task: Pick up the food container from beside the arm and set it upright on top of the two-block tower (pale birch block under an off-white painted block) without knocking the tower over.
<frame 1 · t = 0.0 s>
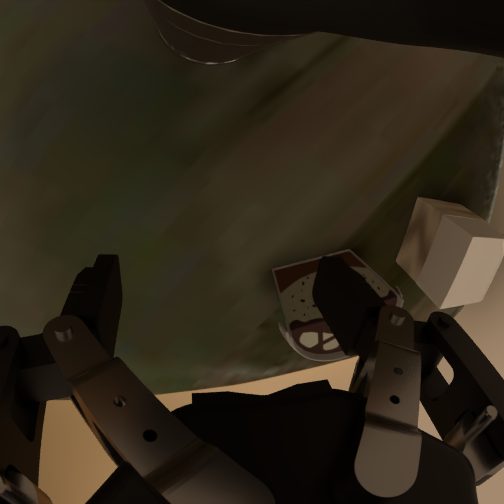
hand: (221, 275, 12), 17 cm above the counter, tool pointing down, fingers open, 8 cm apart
tower top block: (452, 250, 33), point 5 cm above the counter
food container: (312, 279, 36), on the counter
tower base block: (429, 231, 37), on the counter
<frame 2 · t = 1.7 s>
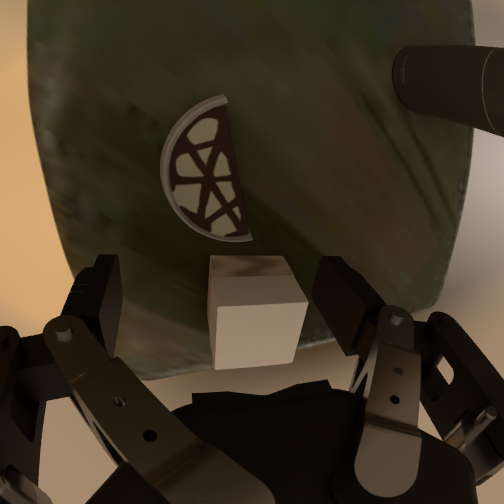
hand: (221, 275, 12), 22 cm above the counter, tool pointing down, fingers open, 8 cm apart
tower top block: (249, 309, 36), point 5 cm above the counter, touching tower base block
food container: (195, 156, 31), on the counter
tower base block: (243, 285, 40), on the counter, touching tower top block
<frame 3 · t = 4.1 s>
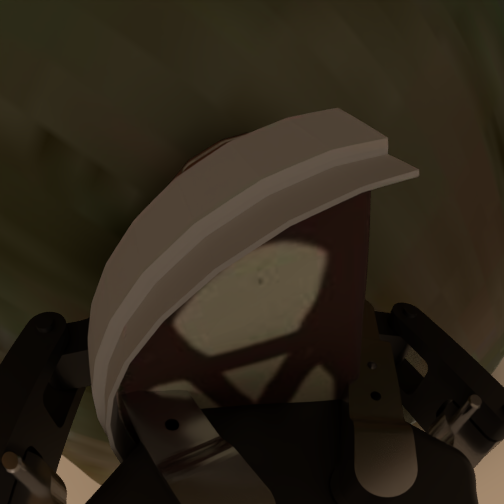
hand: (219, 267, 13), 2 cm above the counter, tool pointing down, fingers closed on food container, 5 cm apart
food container: (196, 246, 14), on the counter, touching gripper
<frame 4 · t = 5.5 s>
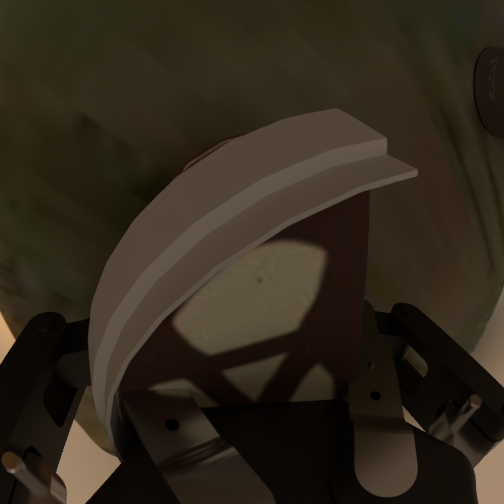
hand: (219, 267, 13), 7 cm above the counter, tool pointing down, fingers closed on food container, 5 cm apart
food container: (197, 246, 14), point 5 cm above the counter, touching gripper
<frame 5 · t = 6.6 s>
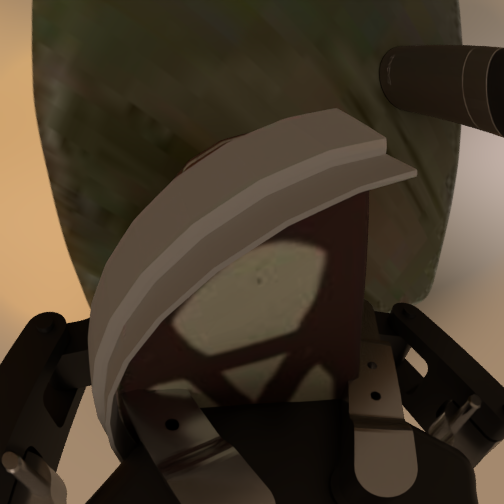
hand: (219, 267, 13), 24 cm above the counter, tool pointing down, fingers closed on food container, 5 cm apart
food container: (197, 246, 14), point 22 cm above the counter, touching gripper
when the fingers open (13 cm above the counter, at t = 11.0 s): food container moves 1 cm, resting on tower top block.
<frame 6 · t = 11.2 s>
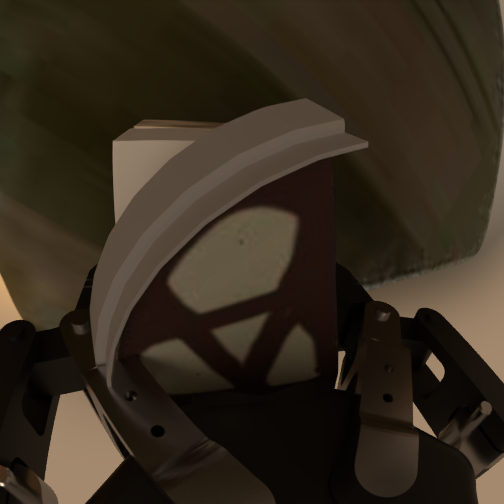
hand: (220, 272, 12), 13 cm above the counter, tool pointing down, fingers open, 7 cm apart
tower top block: (200, 199, 20), point 5 cm above the counter, touching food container, tower base block
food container: (187, 235, 15), point 10 cm above the counter, touching gripper, tower top block
tower base block: (198, 178, 24), on the counter, touching tower top block
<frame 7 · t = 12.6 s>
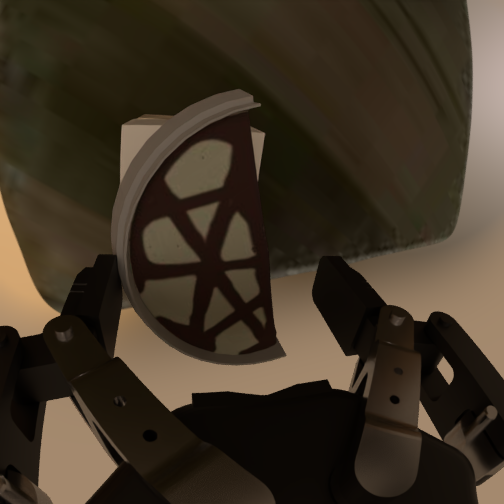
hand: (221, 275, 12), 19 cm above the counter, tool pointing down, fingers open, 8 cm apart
tower top block: (186, 176, 24), point 5 cm above the counter, touching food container, tower base block
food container: (169, 197, 20), point 10 cm above the counter, touching gripper, tower top block
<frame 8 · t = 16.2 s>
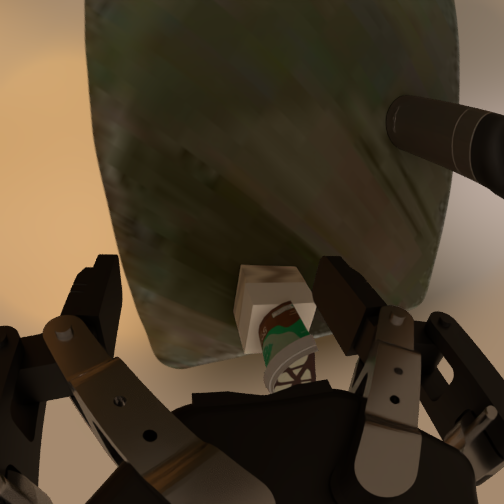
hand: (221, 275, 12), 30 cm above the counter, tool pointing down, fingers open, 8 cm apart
tower top block: (270, 307, 47), point 5 cm above the counter, touching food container, tower base block
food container: (271, 330, 43), point 10 cm above the counter, touching tower top block
tower base block: (263, 289, 51), on the counter, touching tower top block
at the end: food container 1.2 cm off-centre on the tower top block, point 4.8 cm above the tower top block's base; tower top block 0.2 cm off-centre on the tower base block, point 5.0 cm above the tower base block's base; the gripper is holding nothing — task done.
